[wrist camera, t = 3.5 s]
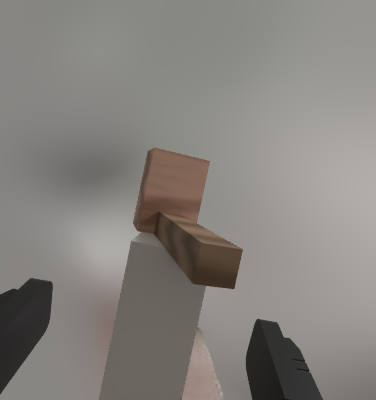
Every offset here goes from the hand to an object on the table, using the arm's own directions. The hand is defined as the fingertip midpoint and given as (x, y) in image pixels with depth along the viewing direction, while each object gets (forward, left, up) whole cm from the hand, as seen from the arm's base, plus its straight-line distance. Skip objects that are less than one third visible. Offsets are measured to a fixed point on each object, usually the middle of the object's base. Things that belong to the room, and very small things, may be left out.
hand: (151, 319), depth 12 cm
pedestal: (0, +25, -33) cm, 41 cm away
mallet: (0, +20, -1) cm, 20 cm away
